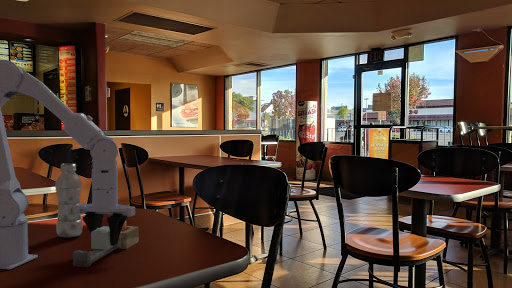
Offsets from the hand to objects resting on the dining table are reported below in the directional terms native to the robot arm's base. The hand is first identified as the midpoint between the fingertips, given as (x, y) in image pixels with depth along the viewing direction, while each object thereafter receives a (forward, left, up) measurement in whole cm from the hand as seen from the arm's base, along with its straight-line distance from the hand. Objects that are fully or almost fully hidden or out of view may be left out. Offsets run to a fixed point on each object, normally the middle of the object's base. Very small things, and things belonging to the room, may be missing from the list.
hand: (105, 243), depth 92 cm
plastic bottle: (-17, +9, -2) cm, 20 cm away
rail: (0, -3, -2) cm, 4 cm away
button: (0, +7, 0) cm, 7 cm away
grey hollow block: (0, +6, -2) cm, 7 cm away
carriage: (0, 0, 0) cm, 0 cm away
